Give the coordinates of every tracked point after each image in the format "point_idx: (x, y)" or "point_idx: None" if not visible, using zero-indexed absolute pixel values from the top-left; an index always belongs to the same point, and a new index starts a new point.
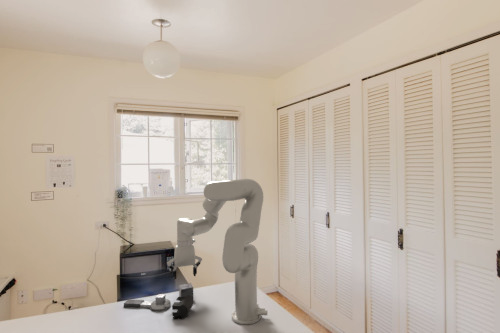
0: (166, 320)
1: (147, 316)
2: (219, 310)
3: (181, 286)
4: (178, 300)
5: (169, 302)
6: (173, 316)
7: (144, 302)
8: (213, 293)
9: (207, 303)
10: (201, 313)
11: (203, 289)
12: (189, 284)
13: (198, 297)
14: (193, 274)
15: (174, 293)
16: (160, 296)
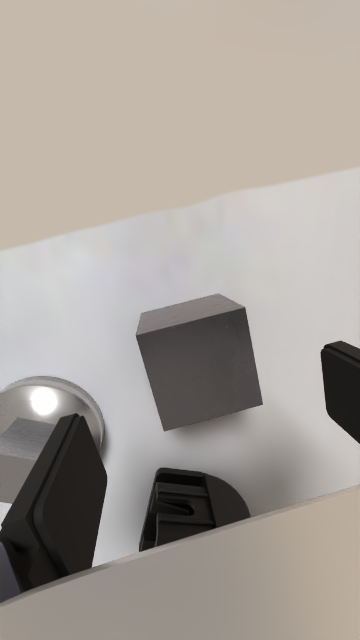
0: (111, 554)
1: (3, 517)
2: None
3: (162, 373)
4: (157, 518)
5: (94, 438)
6: (140, 542)
7: None
8: (357, 302)
9: (305, 423)
10: (267, 511)
11: (304, 220)
12: (232, 339)
13: (263, 343)
14: (325, 371)
15: (98, 248)
16: (16, 489)
